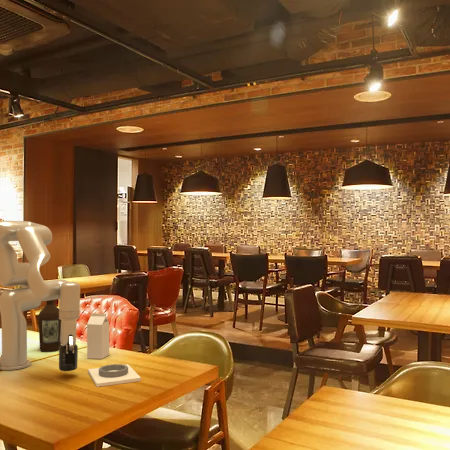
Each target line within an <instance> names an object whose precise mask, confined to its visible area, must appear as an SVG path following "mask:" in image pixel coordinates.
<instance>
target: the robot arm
mask: <svg viewBox="0 0 450 450" xmlns="http://www.w3.org/2000/svg"><path fill="white" fill-rule="evenodd" d="M52 241H53V233H52V231H51V229H50V228H49V227H48V226H46V225H43V224H40V223H35V222H32V221H28V220H2V221H1V220H0V285H1V286H2V287H6V288H7V287H17V286H19V287H20V288H13V289H8V290H5V291H4V292H1V294H0V317H1V319H0V320H1V355H0V370H1V371H15V370H21V369H25V368H28V367H30V366H31V365H32V362H31V360H29V359H28V331H27V330H28V326H27V325H28V322H27V319H26V317H25V315H24V314H23V312H25V311H31V310H35V309H37V308H38V307H40V306H41V304H42V302H47V301H49V300H54V301H55V300H59V304H58V309H59V319H60V320H61V332H60V342H61V345H62V346H64V345H66V353H65V364H73V363H74V345H75V344H76V343H77V320H79V319H80V311H81V309H80V307H81V306H80V305H81V304H80V303H81V284H80V283H79V282H77V281H68V280H65V279H54V280H53V279H52V280H44V278H43V276H42V274H41V271H40V268H41V267H42V266H44V265H45V264H46V263H48V262H49V260H50V259H51V253H50V252H49V250H48V247H47V246H48V245H50V244H51V243H52ZM9 242H18V244H19V246H20V248H21V249H22V251H23V254H24V255H25V258H26V259H27V261H28V262H19V260H18V257H17V252H16V250H15V248H14V247H13V245H11V244H10V243H9ZM68 337H69V339H68ZM67 344H69V345H67ZM76 345H77V344H76ZM68 347H69V348H68Z"/></svg>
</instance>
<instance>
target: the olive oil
mask: <svg viewBox="0 0 450 450" xmlns="http://www.w3.org/2000/svg"><path fill="white" fill-rule="evenodd" d="M38 313H39V314H38V317H37V318H38V319H37V320H38V322H37V323H38V336H39V351H40V352H42V353H53V352H59V347H60V346H61V345H62V344H61V342H60V332H61V320H60V319H59V307H57V305H56V304H55V300H49V301H46V304H45V306H44V307H43V308H42V309H41V310H40V311H39V312H38Z"/></svg>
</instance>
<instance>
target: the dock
mask: <svg viewBox="0 0 450 450" xmlns="http://www.w3.org/2000/svg"><path fill="white" fill-rule="evenodd" d="M87 374H88V375H89V377H90V379H91V381H92V382H93V383H94V386H95V387H96V388H99V387H100V386H101V387H107V386H114V385H123V384H129V383H135V382H136V383H137V382H141V381H142V378H141V376H140V375H139V374H138V373H137V372H136V371H135V370H134V369H133V368H132V367H131V366H130V364H127V363H126V364H121V363H120V364H119V363H118V364H116V363H114V364H106V365H103V366H100V367H96V368H88V369H87Z"/></svg>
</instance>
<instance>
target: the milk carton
mask: <svg viewBox="0 0 450 450" xmlns="http://www.w3.org/2000/svg"><path fill="white" fill-rule="evenodd" d="M106 315H107V314H106V313H90V317H89V319H88V321H87V323H86V337H87V338H86V346H87V347H86V353H87V354H86V355H87V357H86V358H87V359H94V360H95V359H96V360H97V359H98V360H102V359H105V358H107V357H108V356H110V321H109V319H108V317H107V316H106Z"/></svg>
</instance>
